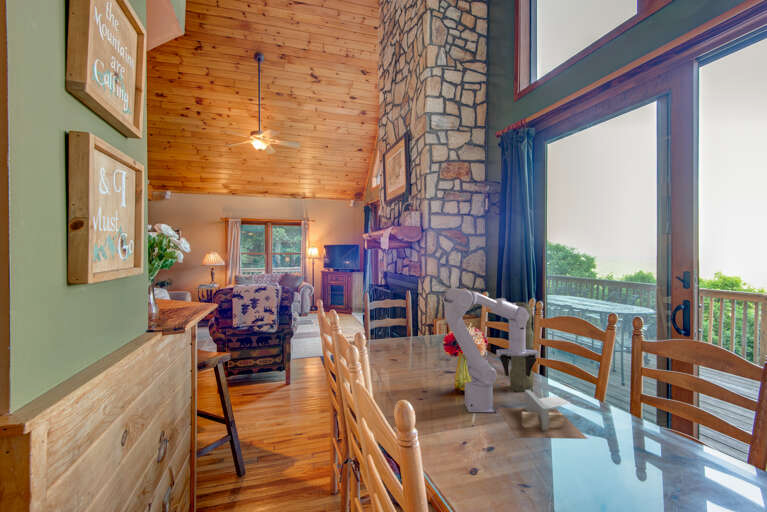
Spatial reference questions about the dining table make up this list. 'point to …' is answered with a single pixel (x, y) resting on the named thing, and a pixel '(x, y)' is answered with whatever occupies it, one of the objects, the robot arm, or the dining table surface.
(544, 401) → the hard drive
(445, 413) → the dining table surface
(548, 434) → the base
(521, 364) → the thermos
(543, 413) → the long gray bar
